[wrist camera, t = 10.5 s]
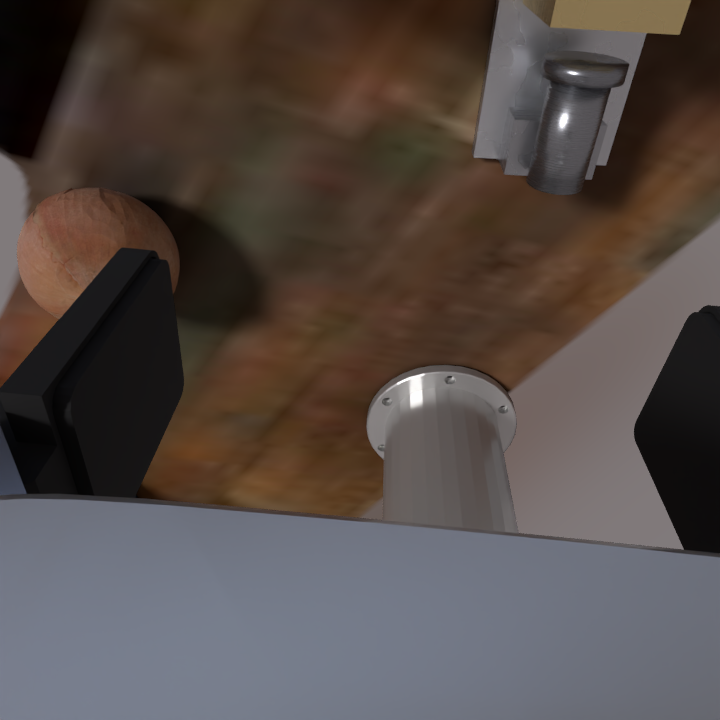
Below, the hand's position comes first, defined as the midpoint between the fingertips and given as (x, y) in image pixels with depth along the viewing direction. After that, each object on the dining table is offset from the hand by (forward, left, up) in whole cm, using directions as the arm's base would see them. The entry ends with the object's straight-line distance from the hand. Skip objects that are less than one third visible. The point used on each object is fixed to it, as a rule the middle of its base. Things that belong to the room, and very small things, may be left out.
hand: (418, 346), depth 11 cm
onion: (-13, +18, -28) cm, 36 cm away
